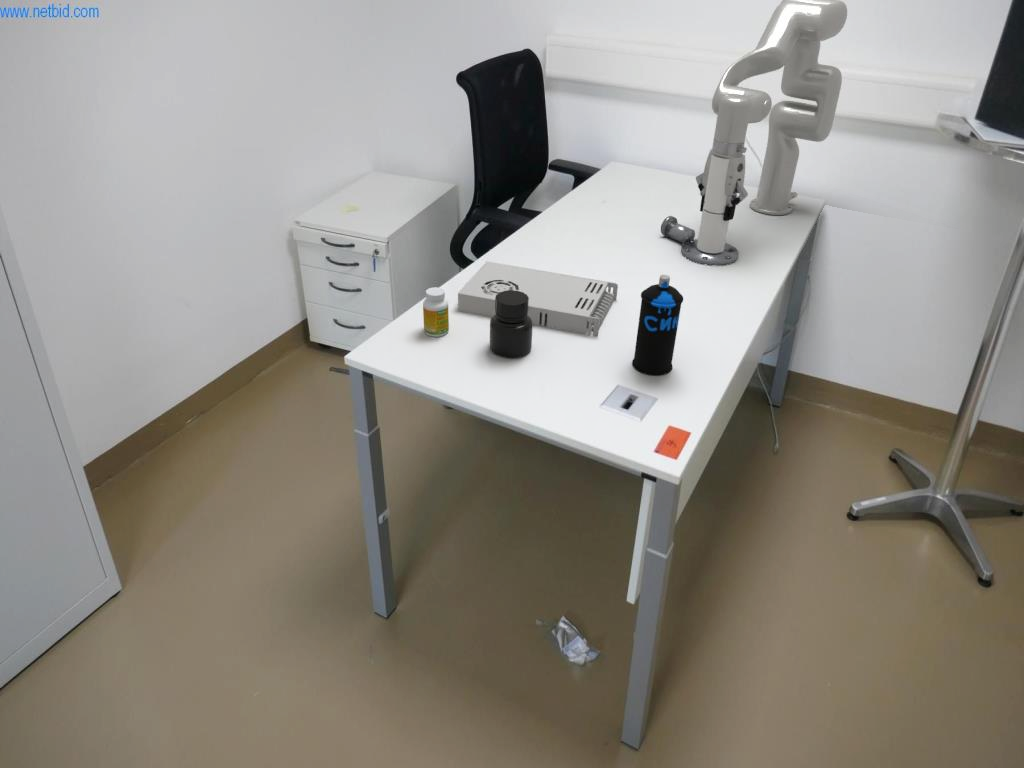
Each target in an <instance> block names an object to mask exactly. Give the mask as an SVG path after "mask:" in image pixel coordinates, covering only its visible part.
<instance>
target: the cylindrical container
mask: <svg viewBox="0 0 1024 768" xmlns="http://www.w3.org/2000/svg"><path fill="white" fill-rule="evenodd" d="M729 160H730V159H727V158H723V157H720V156H717V155H715V154H712V156H711V163H710V169H709V175H708V181H707V187H706V193H705V199H704V205H703V211H702V212H701V219H700V225H699V231H698V235H697V236H698V238H697V239H698V242H697V248H698V249H699V250H700V251H703V252H706V253H720V252H723V251H724V247H725V243H726V240H727V236H728V235H727V234H728V229H729V224H730V220H728V221H724V220H723V218H724V212H725V207H726V206H728V203H727V196H726V195H725V180H726V174H727V169H728V164H729ZM733 193H734V191H733ZM731 197H732V200H733V195H732V196H731Z"/></svg>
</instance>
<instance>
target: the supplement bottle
mask: <svg viewBox="0 0 1024 768" xmlns="http://www.w3.org/2000/svg"><path fill="white" fill-rule="evenodd" d="M422 313H423V331H424V333H425V335H427V336H429V337H433V338H434V337H435V338H436V337H437V338H439V337H444V336H446V335H447V334H448V333H449V329H450V326H449V325H450V323H449V322H450V321H449V301H448V299H447V298H446V293H445V289H443V288H441V287H436V286H435V287H429V288H427V289H426V291H425V299H424V300H423V302H422Z"/></svg>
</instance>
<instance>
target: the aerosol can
mask: <svg viewBox="0 0 1024 768" xmlns="http://www.w3.org/2000/svg"><path fill="white" fill-rule="evenodd" d="M670 280H671V277H670V276H669V275H667V274H661V275H660V276H659V280H658V281H659V282H658V283H657V284H652V285H650V286H648V287H647V288H645V289H644V290H643V291H642V292H641V293H640V297H641V298H640V299H641V303H640V310H639V317H638V327H637V332H636V333H637V334H636V339H635V350H634V354H633V355H634V357H633V359H632V362H631V364H632V366H633V368H634V369H635V370H636V371H637V372H640V373H641V374H645V375H648V376H664V375H666V374H668V373H670V372H671V371H672V369H673V357H674V351H675V345H676V341H677V340H676V339H677V333H678V326H679V320H680V313H681V308H682V303H684V302H683V301H684V296H683V295H682V294H681V293H680V291H679V290H677V288H675V287H674V286H671V285H670Z"/></svg>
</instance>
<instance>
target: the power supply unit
mask: <svg viewBox="0 0 1024 768" xmlns="http://www.w3.org/2000/svg"><path fill="white" fill-rule="evenodd" d="M618 287H619V284H618V283H616V282H611V281H606V280H599V279H594V278H587V277H581V276H575V275H570V274H564V273H559V272H558V273H557V272H552V271H545V270H540V269H534V268H528V267H523V266H516V265H511V264H504V263H498V262H493V261H485V263H484V264H483V265H482V266H481V267H480V268H479V269H477V271H476V272H475V274H474V275H473V276H472V277H471V278H470V279H469V280H468V281H467V282H466V283H465V284H464V286H463V287H461V288H460V290H459V291H458V292H457V309H458V311H460V312H464V313H470V314H471V313H472V314H476V315H482V316H485V317H486V316H487V317H491V318H492V317H493V316H494V315H495V297H496V295H497V294H498V293H499V292H503V291H509V290H514V291H520V292H523V293H525V294H527V296H528V297H529V303H528V316H529V317H530V318H531V320H532V325H535V326H541V327H547V328H550V329H556V330H560V331H568V332H573V333H577V334H583V335H586V334H587V335H588V336H591V335H592V336H593V337H599V331H600V329H601V327H602V326H603V323H604V321H605V319H606V317H607V315H608V314H609V312H610V310H611V308H612V306H613V304H614V302H615V301H617V297H618ZM611 289H612V293H611Z"/></svg>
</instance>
